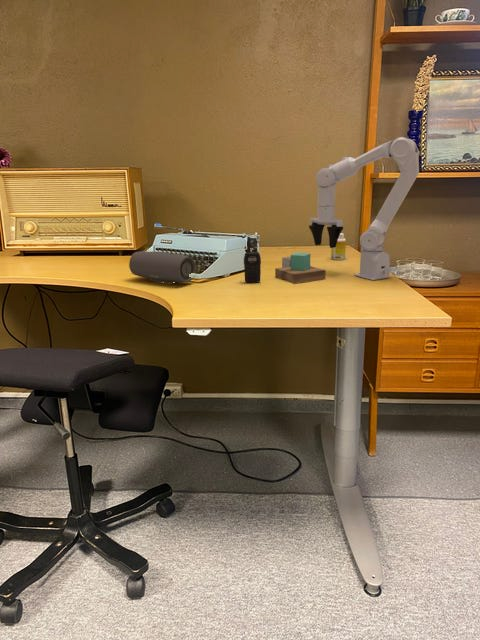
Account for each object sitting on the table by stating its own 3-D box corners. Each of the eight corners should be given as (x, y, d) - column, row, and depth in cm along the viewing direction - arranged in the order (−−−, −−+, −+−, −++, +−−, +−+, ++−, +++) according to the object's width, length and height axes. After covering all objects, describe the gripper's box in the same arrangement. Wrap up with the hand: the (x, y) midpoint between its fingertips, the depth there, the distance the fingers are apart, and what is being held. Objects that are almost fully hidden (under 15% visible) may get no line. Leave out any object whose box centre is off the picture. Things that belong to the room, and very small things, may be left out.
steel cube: (301, 272, 169) (301, 258, 167) (289, 273, 166) (289, 259, 165) (293, 269, 173) (293, 256, 171) (282, 271, 171) (282, 257, 169)
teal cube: (310, 268, 159) (310, 253, 157) (304, 271, 155) (304, 255, 153) (296, 267, 161) (296, 252, 160) (290, 269, 157) (290, 255, 156)
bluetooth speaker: (198, 282, 156) (196, 252, 153) (179, 288, 149) (177, 257, 146) (148, 276, 168) (146, 248, 166) (129, 281, 161) (126, 252, 158)
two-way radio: (244, 283, 153) (243, 237, 148) (244, 280, 157) (243, 235, 153) (261, 283, 153) (260, 236, 148) (260, 280, 157) (260, 234, 153)
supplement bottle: (347, 259, 190) (349, 233, 187) (339, 260, 187) (340, 234, 184) (337, 257, 195) (338, 232, 191) (328, 259, 191) (328, 233, 188)
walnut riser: (325, 279, 156) (325, 270, 155) (295, 283, 151) (295, 274, 150) (304, 273, 166) (304, 264, 165) (275, 277, 161) (275, 268, 160)
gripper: (350, 206, 155) (348, 247, 159) (321, 204, 167) (320, 242, 171) (334, 207, 152) (333, 249, 156) (305, 205, 163) (305, 244, 167)
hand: (325, 246), depth 163 cm, fingers open, 7 cm apart
